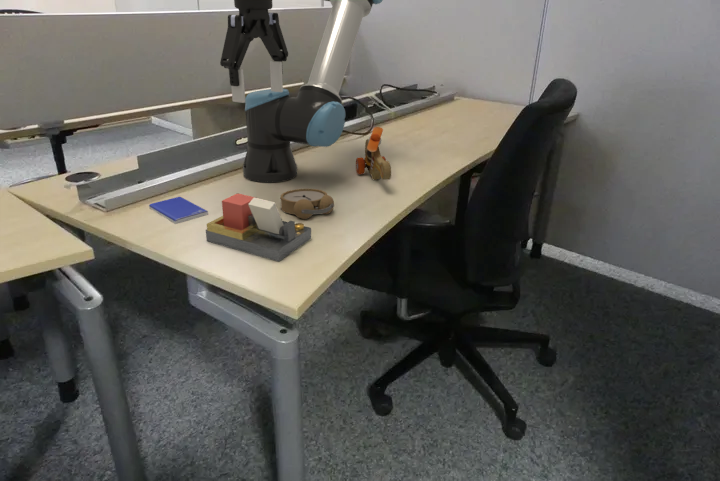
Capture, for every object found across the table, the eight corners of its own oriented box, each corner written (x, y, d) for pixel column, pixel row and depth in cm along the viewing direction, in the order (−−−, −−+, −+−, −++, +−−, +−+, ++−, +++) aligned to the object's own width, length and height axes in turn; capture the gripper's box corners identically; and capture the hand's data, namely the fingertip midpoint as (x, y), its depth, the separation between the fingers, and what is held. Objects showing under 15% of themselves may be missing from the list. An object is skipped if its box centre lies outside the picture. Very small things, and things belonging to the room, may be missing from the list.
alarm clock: (312, 185, 132) (343, 194, 120) (314, 204, 133) (345, 215, 121) (272, 193, 126) (299, 202, 114) (274, 212, 128) (302, 224, 115)
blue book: (208, 210, 120) (180, 195, 127) (175, 219, 114) (148, 203, 122) (208, 216, 120) (181, 201, 128) (176, 226, 115) (149, 210, 123)
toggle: (263, 225, 107) (251, 196, 102) (287, 231, 105) (277, 202, 99) (258, 231, 106) (246, 203, 100) (282, 238, 104) (271, 209, 98)
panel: (243, 220, 117) (241, 195, 115) (311, 238, 110) (310, 212, 108) (206, 240, 108) (203, 213, 105) (278, 261, 101) (277, 233, 98)
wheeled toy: (380, 169, 155) (383, 123, 149) (402, 193, 137) (406, 142, 131) (354, 170, 153) (355, 123, 147) (372, 195, 135) (374, 143, 129)
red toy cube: (239, 219, 112) (237, 193, 109) (258, 224, 110) (256, 197, 107) (224, 227, 108) (221, 200, 105) (243, 232, 106) (241, 205, 103)
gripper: (226, -13, 91) (236, 109, 101) (302, -12, 111) (304, 89, 121) (193, -14, 94) (205, 104, 104) (273, -14, 114) (277, 85, 124)
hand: (258, 96), depth 112 cm, fingers open, 13 cm apart
